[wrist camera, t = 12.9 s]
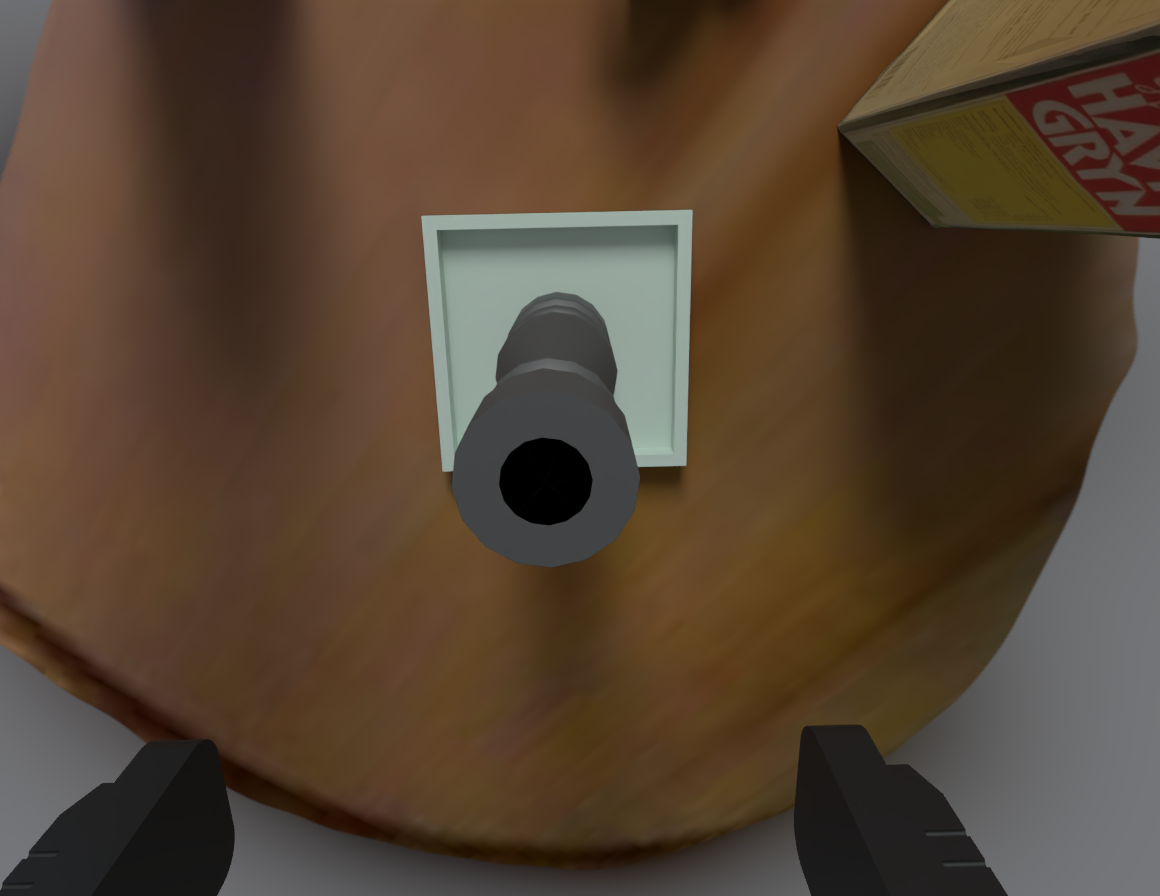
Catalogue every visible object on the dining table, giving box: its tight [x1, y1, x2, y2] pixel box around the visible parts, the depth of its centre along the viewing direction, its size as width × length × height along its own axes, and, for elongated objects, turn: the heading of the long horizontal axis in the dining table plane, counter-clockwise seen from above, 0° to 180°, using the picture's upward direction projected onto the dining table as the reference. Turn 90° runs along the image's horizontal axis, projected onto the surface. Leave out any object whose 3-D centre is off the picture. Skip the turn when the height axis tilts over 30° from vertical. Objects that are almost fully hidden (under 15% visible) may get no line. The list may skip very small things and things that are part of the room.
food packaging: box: [838, 0, 1160, 238], centre depth 30 cm, size 13×9×25 cm
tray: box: [421, 210, 692, 471], centre depth 45 cm, size 16×16×2 cm
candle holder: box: [452, 292, 640, 567], centre depth 34 cm, size 6×6×25 cm
